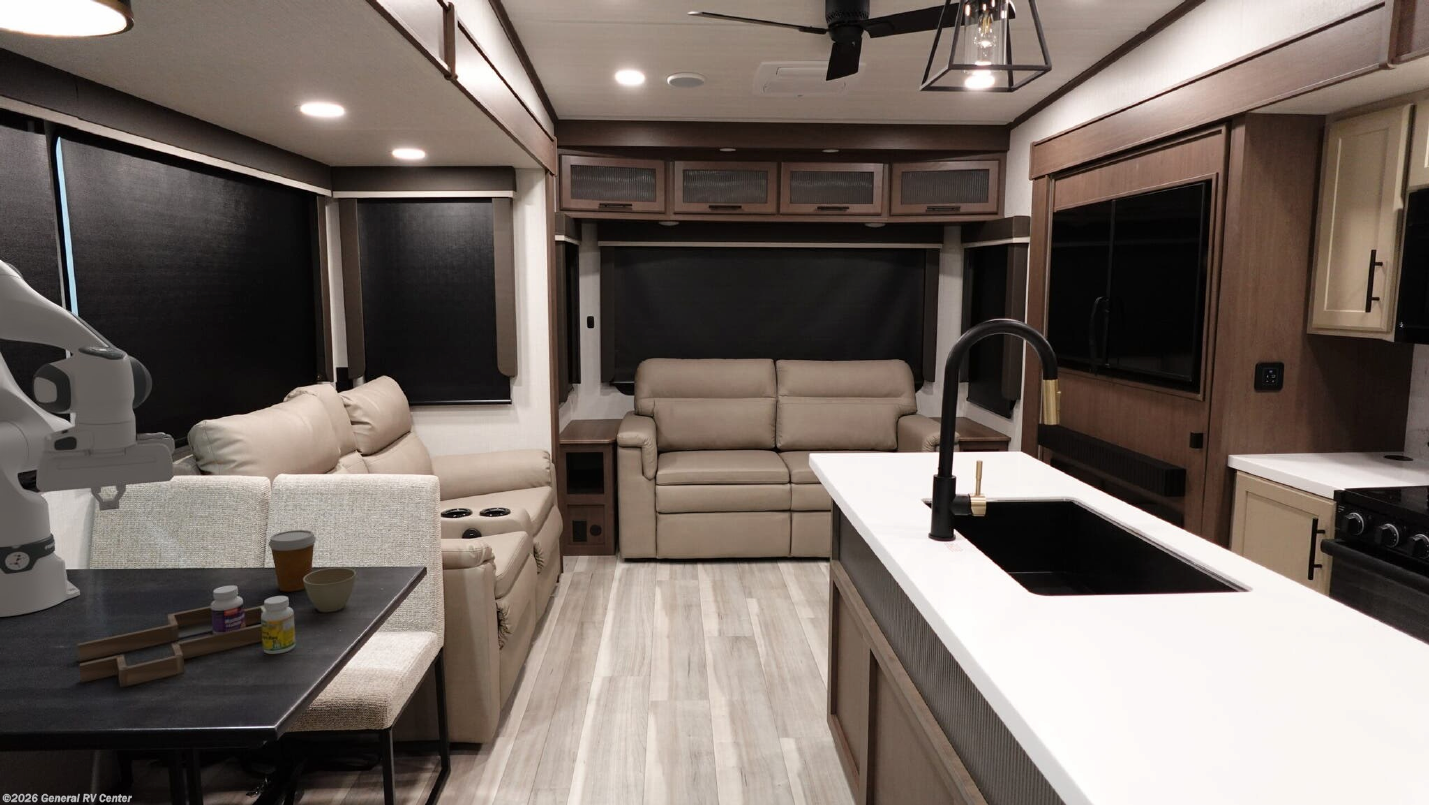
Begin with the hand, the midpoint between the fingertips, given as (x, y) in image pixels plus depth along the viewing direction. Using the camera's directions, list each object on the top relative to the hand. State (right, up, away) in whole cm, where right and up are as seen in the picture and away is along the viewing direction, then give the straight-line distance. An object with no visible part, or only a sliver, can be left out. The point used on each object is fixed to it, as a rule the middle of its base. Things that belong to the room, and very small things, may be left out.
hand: (109, 509), depth 148 cm
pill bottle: (+19, -26, +6) cm, 32 cm away
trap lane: (+13, -26, +2) cm, 29 cm away
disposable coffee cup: (+17, -22, +33) cm, 43 cm away
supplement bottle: (+30, -27, +2) cm, 40 cm away
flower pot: (+31, -24, +22) cm, 45 cm away
